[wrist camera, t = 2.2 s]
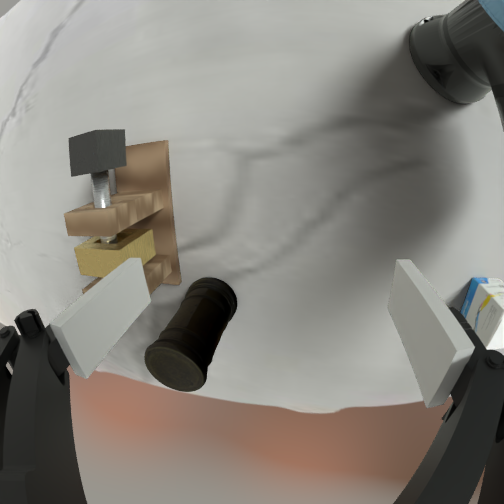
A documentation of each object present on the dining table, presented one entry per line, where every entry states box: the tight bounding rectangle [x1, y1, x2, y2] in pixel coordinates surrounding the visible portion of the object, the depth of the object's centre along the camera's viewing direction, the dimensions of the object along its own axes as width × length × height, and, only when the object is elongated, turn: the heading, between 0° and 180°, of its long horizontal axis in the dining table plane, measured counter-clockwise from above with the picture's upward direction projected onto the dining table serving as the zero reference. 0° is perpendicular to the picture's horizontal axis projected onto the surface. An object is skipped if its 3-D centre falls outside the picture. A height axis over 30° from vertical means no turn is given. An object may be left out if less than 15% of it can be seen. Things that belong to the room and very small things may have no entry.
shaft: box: [69, 130, 127, 244], centre depth 32 cm, size 24×5×6 cm, turn 1°
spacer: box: [74, 229, 156, 278], centre depth 35 cm, size 4×8×8 cm, turn 91°
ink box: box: [460, 278, 504, 350], centre depth 32 cm, size 9×8×12 cm
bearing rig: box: [64, 140, 182, 295], centre depth 36 cm, size 24×10×15 cm, turn 1°
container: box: [145, 278, 237, 392], centre depth 39 cm, size 9×9×18 cm
